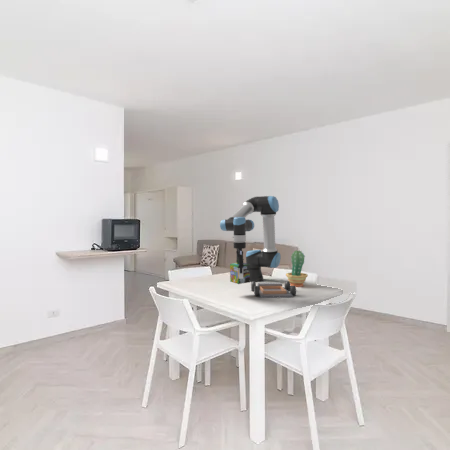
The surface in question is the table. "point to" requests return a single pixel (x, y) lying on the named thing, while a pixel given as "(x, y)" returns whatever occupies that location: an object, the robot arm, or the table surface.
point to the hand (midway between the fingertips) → (239, 276)
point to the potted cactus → (297, 270)
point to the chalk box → (235, 273)
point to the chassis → (273, 290)
